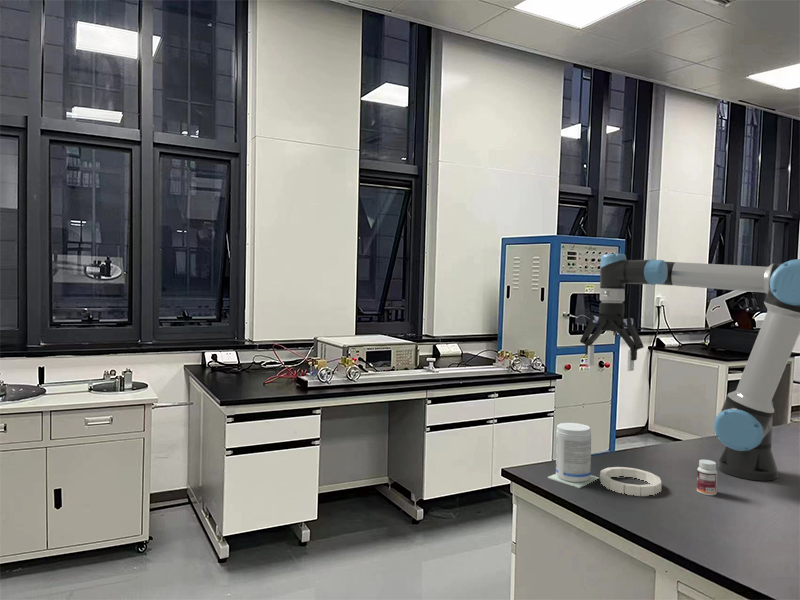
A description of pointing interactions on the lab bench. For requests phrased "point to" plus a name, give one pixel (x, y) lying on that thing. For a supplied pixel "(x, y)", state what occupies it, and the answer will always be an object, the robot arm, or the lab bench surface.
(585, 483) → the rubber mat
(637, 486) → the ring dish
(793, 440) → the lab bench surface
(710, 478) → the pill bottle
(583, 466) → the supplement tub
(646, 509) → the lab bench surface
